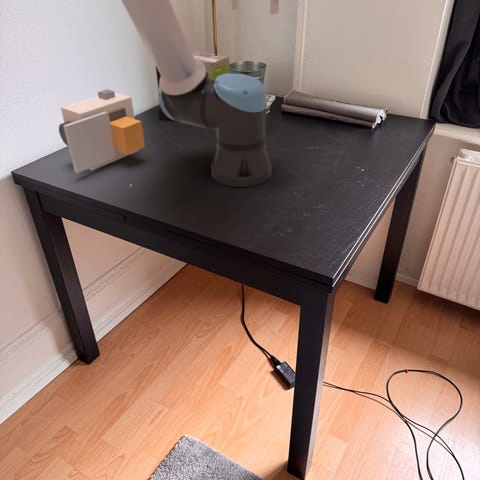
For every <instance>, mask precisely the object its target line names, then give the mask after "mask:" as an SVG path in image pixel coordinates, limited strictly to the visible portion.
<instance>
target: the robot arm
mask: <svg viewBox="0 0 480 480" xmlns="http://www.w3.org/2000/svg"><path fill="white" fill-rule="evenodd" d="M269 1H270V5H269V6H270V7H269V8H270V10H269V15H271V16H272V15H273V16H274V15H277V14H279V9H280V7H279V6H280V0H269ZM121 2H122V4H123V7H124V8H125V10H126V11H127V14H128V15H129V17H130V19H131V21H132V23H133V26H134V27H135V29H136V31H137V32H138V35H139V36H140V38H141V40H142V42H143V44H144V47H146V50H147V52H148V53H149V55H150V57H151V59H152V61H153V63H154V65H155V68H156V67H157V69H158V71H159V72H160V74H161V77H160V81H159V89H158V88H157V93H158V95H159V94H160V97H159V96H158V104H159V106H160V107H161V109H162V111H163V112H164V113H165V114H166V116H168V117H169V118H171V119H173V120H175V121H176V122H178V123H180V124H187V125H191V126H195V127H201V128H204V129H210V130H212V131H213V130H214V131H216V141H217V142H216V144H217V145H216V149H215V152H214V155H213V160H212V162H211V176H212V178H213V180H214V181H216V182H218V183H219V184H222V185H224V186H228V187H233V188H234V187H235V188H236V187H237V188H247V187H249V188H250V187H254V186H257V185H258V186H259V185H261V184H264V183H265V182H267V181H269V179H270V178H271V175H272V163H271V160H270V157H269V154H268V150H267V147H266V115H267V96H266V88H265V86H264V84H263V83H262V81H260V80H259V79H258V78H257V77H254V76H251V75H248V74H244V73H233V72H232V73H230V72H229V74H222V75H220V76H218V77H217V78H216V79H213V78H211V77H210V76H209V74H208V72H207V70H206V67H205V65H204V64H203V63H202V62H201V61H200V60H197V59H195V58H194V56H193V54H192V53H193V52H192V51H193V50H191V49H192V48H191V46H190V45H189V43H188V40H187V38H186V36H185V33H184V31H183V28H182V26H181V24H180V21H179V19H178V17H177V15H176V12H175V10H174V8H173V6H172V2H171V1H170V0H121ZM238 4H239V0H229V11H234V10H238V9H239V5H238ZM160 107H159V108H160ZM173 120H172V121H173ZM175 121H174V122H175Z"/></svg>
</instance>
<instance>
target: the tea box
mask: <svg viewBox="0 0 480 480" xmlns="http://www.w3.org/2000/svg"><path fill="white" fill-rule="evenodd" d="M192 54H193V56H194V58H195V59H197V60H200V61H201V62H202V63H203V64H204V65H205V67H206V70H207V72H208V74H209V76H210V77H211V78H213V79H216V78H217V77H218V76H220V75H222V74H229V73H230V56H225V55H219V54H215V53H214V54H213V53H208V52H203V51H196V50H195V51H193V52H192ZM215 55H217V56H215Z"/></svg>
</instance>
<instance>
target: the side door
mask: <svg viewBox="0 0 480 480" xmlns="http://www.w3.org/2000/svg"><path fill="white" fill-rule="evenodd" d="M63 127H64V131H65V135H66V139H67V143H68V146H67V147H68V149H69V154H70V158H71V162H72V166H73V167H72V168H73V172H74V173H76V174H79V173H82V172H84V171H86V170H90V169H89V168H91V167H94V166H96V165H98V164H101V163H103V162H106V161H108V160H110V159H113V158H115V157H116V153H115V150H117V151H119V152H122V153H124V154H130V153H132V152H134V151H137V150H139V151H140V149H143V148H146V145H145V138H144V130H143V125H142V121H141V120H139V119H132V118H129V117H123V118H120V119H117V120H115V121H112V122H110V120H109V115H108V112H102V113H99V114H96V115H93V116H90V117H87V118H84V119H81V120H78V121H75V122H72V123H69V124H66V125H63ZM137 152H138V151H137ZM134 153H135V152H134ZM132 154H133V153H132ZM130 155H131V154H130Z"/></svg>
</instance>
